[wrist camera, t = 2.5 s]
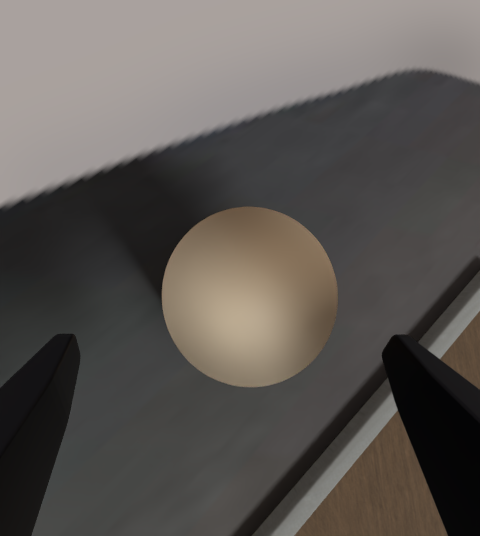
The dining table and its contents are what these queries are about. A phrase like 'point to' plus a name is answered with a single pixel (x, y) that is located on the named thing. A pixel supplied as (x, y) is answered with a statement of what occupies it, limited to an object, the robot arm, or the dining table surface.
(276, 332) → the tan wooden cylinder
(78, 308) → the dining table surface
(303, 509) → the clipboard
